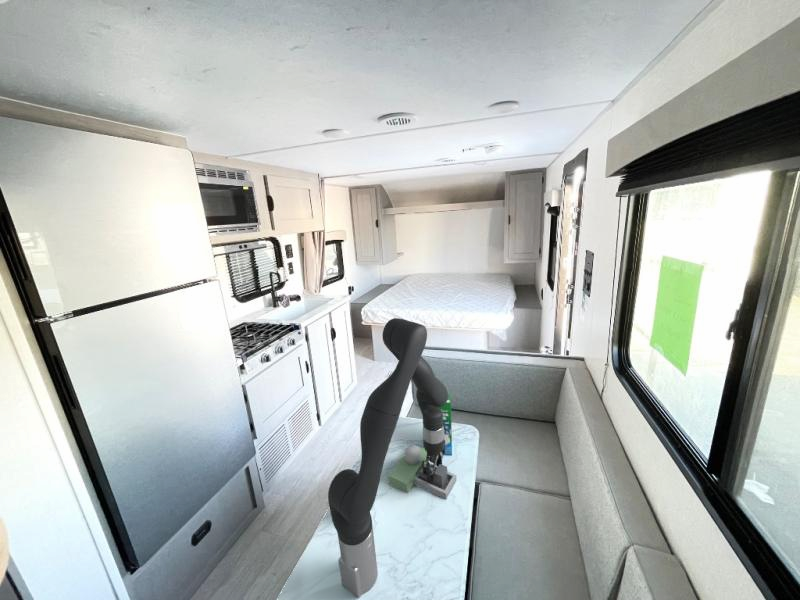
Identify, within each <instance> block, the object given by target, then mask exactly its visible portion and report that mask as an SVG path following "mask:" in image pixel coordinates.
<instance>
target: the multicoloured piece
mask: <svg viewBox="0 0 800 600" xmlns="http://www.w3.org/2000/svg"><path fill="white" fill-rule="evenodd" d="M426 456H427V452H426V450H425V449H424V447H420V446H418V445H416V444H412V445H408V446H406V448H405V450H404V455H403V457H402V458H401V459H400V460H399V462H398V463H397V464H396V466H395V467H394V468H393V469H392V470H391V472H390V473H389V474H388V483H389V485H390V484H391V485H390V486H392V485H393V486H392V487H394V486H395V488H396V487H397V489H398V488H399V490H400V489H401V491H402V490H403V491H402V492H404V491H405V493H406V492H407V493H406V494H409V492H410V491H411V489H412V488H413V486H414V485H415V484H416V485H415V486H417V485H418V486H417V487H419V486H420V487H419V488H421V487H422V488H421V489H423V488H424V489H423V490H425V489H426V490H425V491H427V490H429V491H428V492H429V493H432V494H434V495H435V496H438V497H441V498H442V497H443V499H444V500H447V499H448V497H449V495H450V493H451V491H452V490H453V488H454V487H455V484H456V482H457V474H454V473H452V472H450V471H447V478H448V480H449V481H448V483H447V486H445V488H444V490H443V489H441V488H438V487H436V486H434V485H432V484H430V483H428V482H425V481H423V480H421V479H420V474H419V471H420V470H421V468H422V461H423V460H424V461H425V460H426V459H427V458H426ZM413 484H414V485H413ZM411 487H412V488H411ZM409 490H410V491H409Z"/></svg>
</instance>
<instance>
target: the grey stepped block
mask: <svg viewBox="0 0 800 600" xmlns="http://www.w3.org/2000/svg"><path fill="white" fill-rule="evenodd" d="M430 470H431V467H430ZM447 472H448V466H447V465H443V464H442V465H441V464H439V466H438V467H437V466H436V467H435V468H434V470H433V482H430V481H428V480H427V476H426V475H424V474H423V469H422V468H421V470H420V471H419V474H420V479H421V480H423V481H425V482H428V483H430V484H432V485H434V486H436V487H438V488H441V489H444V490H445V489H446V487H447V486H446V485H448V483H449V481H448V478H447Z"/></svg>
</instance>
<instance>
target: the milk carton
mask: <svg viewBox="0 0 800 600" xmlns="http://www.w3.org/2000/svg"><path fill="white" fill-rule="evenodd" d="M450 395H451V394H448V400H447V402H446V404H445V405H444V406H442V407H439V408H440V409H441V410H442V412H443V427H444V440H445V454H443V456H453V438H452V437H453V436H452V434H453V433H452V428H453V427H452V401H451V400H452V399H451V396H450Z"/></svg>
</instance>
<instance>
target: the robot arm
mask: <svg viewBox="0 0 800 600" xmlns="http://www.w3.org/2000/svg"><path fill="white" fill-rule="evenodd" d="M427 338H428V330H427V328H426V326H425V325H423V324H422V323H418V322H414V321H412V320H408V319H405V318H404V319H403V318H398V317H393V318H391V319H389V320H388V321H387V322H386V323H385V325H384V327H383V330H382V341H383V342H382V343H383V344H384V346H385V347H386V348H387V349H388V351H389V352H391V354H392V355H393V356H394V357H395V358H396V359H397V361H398V362H397V364H396V366H395V368H394V370H393V372H392V373H391V374H390V375H389V376H388V377H387V378H386V379H385V380H383V382H382V383H380V384H379V385H378V386H377V387H376V388H375V389H374V390H373V391H372V392H371V393H370V395H369V396H368V398H367V401H366V404H365V407H364V409H363V412H362V415H361V419H360V423H359V431H360V432H359V433H360V436H359V437H360V449H361V450H360V451H361V460H360V467H359V470H358V471H359V474H358V473H356V472H355V471H356V470H354V469H351V468H347V469H343V470H340V471H339V472H338V473H336V475H334V477H333V478H332V480H331V483H330V484H329V488H328V493H327V500H328V507H329V510H330V511H329V512H330V516H331V522H332V524H333V526H334V529H335V531H336V533H337V539H338V544H339V545H338V547H339V553H340V557H338V560H337V561H338V566H339V573H340V574H339V575H340V579H341V585H342V586H343V587H344V588H346V589H347V590H348V591H349V592H350V593H352V594H353V595H354V596H355V597H357V598H360V597H361V596H362V594H365V593H367V592H369V590H371V589H372V588H373V587H374V585H375V584H376V582H377V579H378V574H379V573H378V564H377V555H376V554H377V553H376V546H375V537H374V527H373V520H372V518H373V517H372V515H371V511H372V509H373V506H374V504H375V500H376V498H377V495H378V494H377V493H378V490H379V489H378V488H379V485H380V482H381V481H380V480H381V476H382V472H383V467H384V464H385V461H386V456H387V453H388V450H389V449H390V447H389V446H390V445H391V442H392V439H393V435H394V432H395V429H396V427H397V424H398V421H399V419H400V415H401V411H402V408H403V405H404V401H405V398H406V395H407V393H408V389H409V386H410V384H411V381H412V382H413V384H414V386H415V388H416V390H415V391H416V392H415V393H416V394H415V395H416V401H417V404H418V407H419V409H420V413H421V415H422V444H423V445H422V448H423V449H425V450H426V452H427V456H426V458H427V459H426V460H425V461H424V460H423V461H422V469H423V474H424V475H426V476H427V480H428V481H430V482H433V470H434V468H435V467H438V466H439V464H441V465H443V459H444V455H443V454H445V440H444V427H443V412H442V410H441V409H440V408H439V407H442V406H444V405H445V404H446V402H447V400H448V395H449V393H448V390H447V388H446V386H445V385H444V383H443V382H441V381H440V380H439V379H438V378H437V377H436V375H435V373H434V370H433V369H432V366H431V365H430V364H429V362H427V360H426V359H425V358H423V356H422V355H423V353H424V350H425V348H426V344H427V340H428V339H427ZM429 461H430V462H429ZM430 467H431V470H430Z"/></svg>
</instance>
